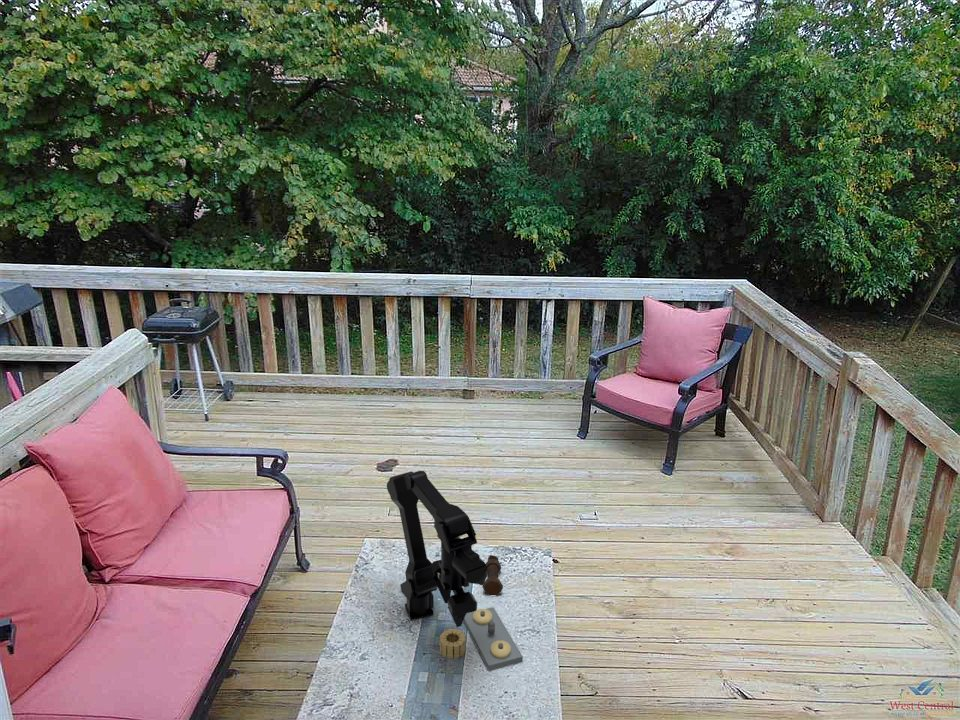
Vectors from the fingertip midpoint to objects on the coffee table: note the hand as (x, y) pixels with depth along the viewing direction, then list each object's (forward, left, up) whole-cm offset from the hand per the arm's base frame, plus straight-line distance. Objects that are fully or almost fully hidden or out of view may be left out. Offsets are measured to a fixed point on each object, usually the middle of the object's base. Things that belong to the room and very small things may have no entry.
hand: (452, 614), depth 162 cm
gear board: (+11, 0, -11) cm, 15 cm away
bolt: (+20, +23, -11) cm, 33 cm away
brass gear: (0, 0, -11) cm, 11 cm away
